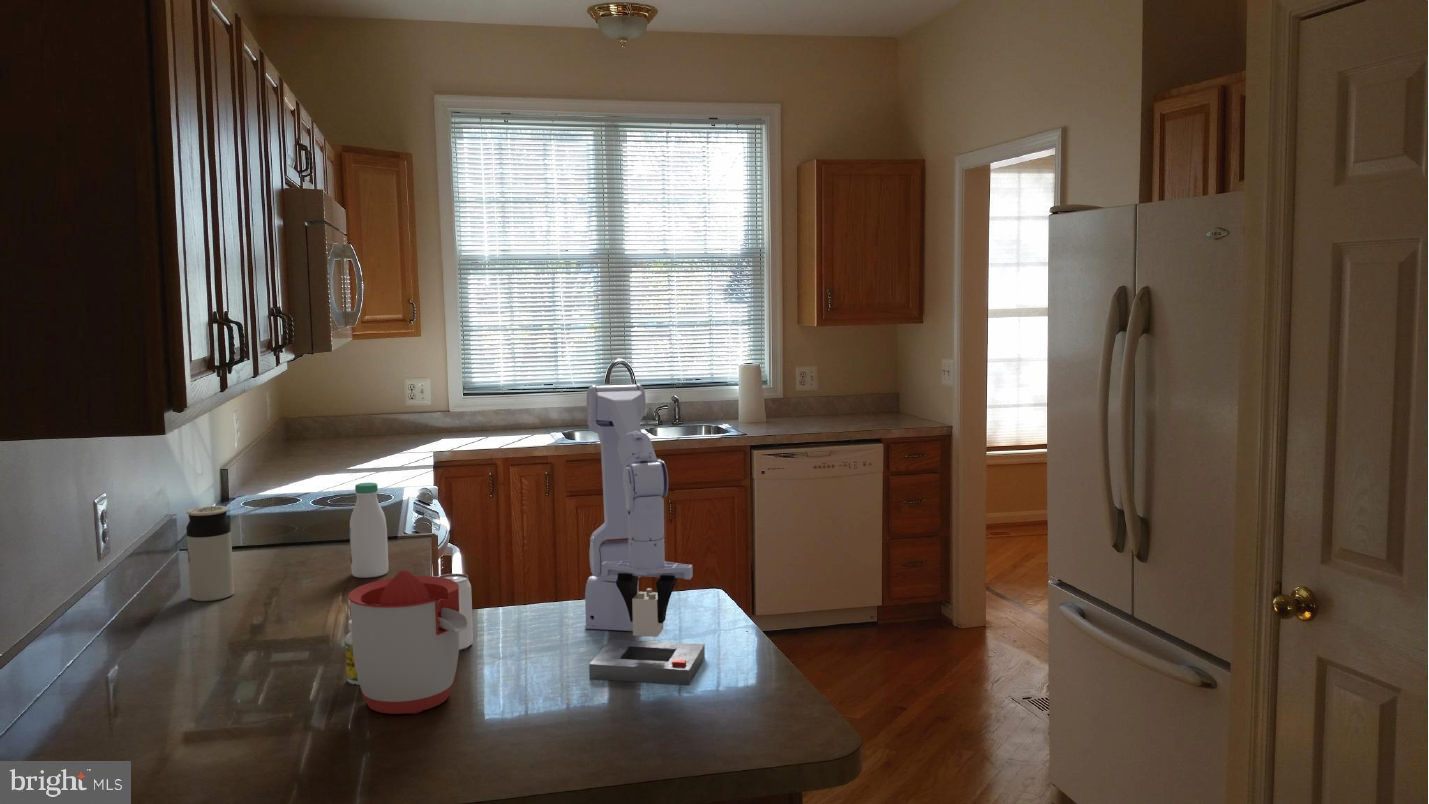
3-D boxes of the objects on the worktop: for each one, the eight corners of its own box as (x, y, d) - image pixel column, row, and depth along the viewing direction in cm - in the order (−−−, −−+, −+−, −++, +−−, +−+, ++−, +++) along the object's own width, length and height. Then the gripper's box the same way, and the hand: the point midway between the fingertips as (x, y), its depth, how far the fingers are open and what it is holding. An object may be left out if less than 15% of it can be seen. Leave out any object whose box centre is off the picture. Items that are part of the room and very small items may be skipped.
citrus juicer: (436, 729, 142) (430, 588, 140) (330, 715, 147) (323, 579, 145) (492, 688, 157) (488, 560, 155) (394, 677, 162) (389, 553, 160)
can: (480, 645, 176) (478, 577, 175) (447, 655, 172) (445, 585, 170) (459, 637, 181) (457, 570, 180) (427, 646, 176) (424, 578, 175)
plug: (633, 635, 162) (632, 593, 162) (639, 627, 166) (638, 586, 166) (657, 636, 162) (656, 595, 161) (663, 628, 166) (662, 587, 165)
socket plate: (589, 678, 160) (589, 660, 160) (611, 652, 172) (611, 635, 171) (689, 685, 157) (688, 666, 157) (704, 658, 169) (704, 640, 168)
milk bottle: (396, 572, 225) (392, 482, 223) (367, 580, 218) (363, 488, 216) (372, 567, 229) (369, 479, 227) (344, 575, 222) (339, 485, 220)
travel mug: (241, 590, 212) (236, 505, 210) (223, 601, 204) (218, 513, 202) (202, 591, 211) (196, 505, 210) (183, 602, 203) (177, 513, 202)
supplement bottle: (390, 677, 162) (387, 618, 161) (361, 688, 157) (358, 627, 156) (368, 670, 165) (365, 612, 164) (339, 681, 160) (336, 621, 159)
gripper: (594, 541, 160) (596, 626, 161) (685, 544, 157) (686, 630, 158) (608, 531, 167) (609, 612, 168) (695, 534, 164) (696, 616, 165)
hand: (647, 620), depth 164 cm, fingers closed on plug, 4 cm apart
